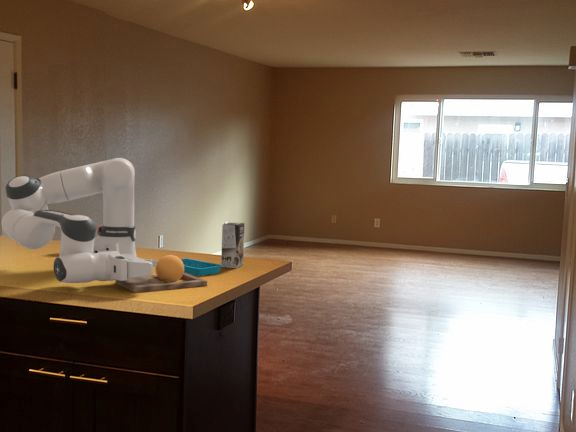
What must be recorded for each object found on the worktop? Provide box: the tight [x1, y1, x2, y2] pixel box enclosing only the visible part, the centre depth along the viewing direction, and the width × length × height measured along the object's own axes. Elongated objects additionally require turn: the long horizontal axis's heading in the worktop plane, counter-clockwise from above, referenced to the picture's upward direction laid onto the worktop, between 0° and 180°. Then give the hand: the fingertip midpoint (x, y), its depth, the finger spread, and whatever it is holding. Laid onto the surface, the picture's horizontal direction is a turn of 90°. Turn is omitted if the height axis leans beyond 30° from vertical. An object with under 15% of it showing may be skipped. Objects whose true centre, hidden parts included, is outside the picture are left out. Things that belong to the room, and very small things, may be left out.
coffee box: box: [220, 222, 245, 269], centre depth 236 cm, size 9×6×16 cm
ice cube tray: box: [180, 257, 223, 277], centre depth 225 cm, size 12×20×3 cm, turn 50°
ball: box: [155, 254, 184, 283], centre depth 202 cm, size 9×9×9 cm
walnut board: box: [114, 273, 208, 293], centre depth 199 cm, size 24×16×2 cm, turn 124°
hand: (155, 262), depth 198 cm, fingers closed
